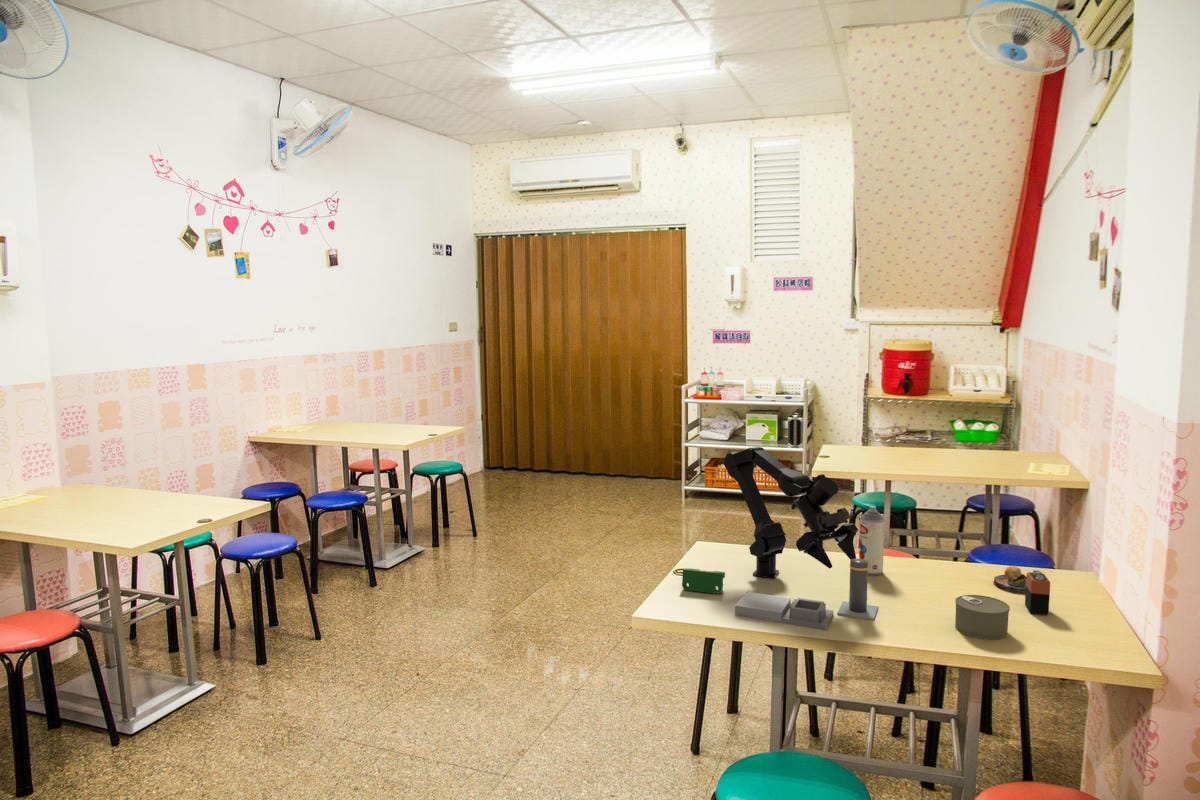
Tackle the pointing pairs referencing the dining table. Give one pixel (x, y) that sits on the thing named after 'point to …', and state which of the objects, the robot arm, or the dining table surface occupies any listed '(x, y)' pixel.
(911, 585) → the dining table surface
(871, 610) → the mat
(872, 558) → the aerosol can
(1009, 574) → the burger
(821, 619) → the socket block
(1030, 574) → the battery
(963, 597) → the can
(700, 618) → the dining table surface
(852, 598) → the plug
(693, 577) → the clamp
